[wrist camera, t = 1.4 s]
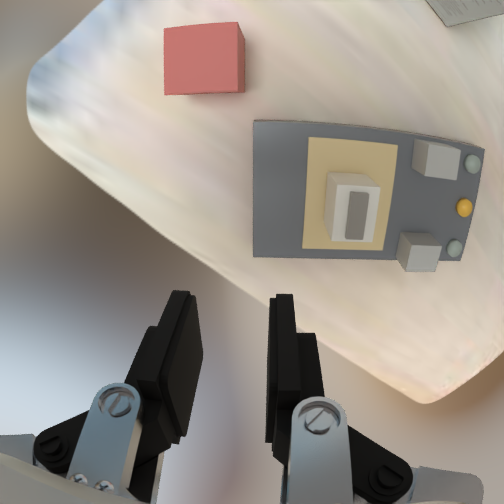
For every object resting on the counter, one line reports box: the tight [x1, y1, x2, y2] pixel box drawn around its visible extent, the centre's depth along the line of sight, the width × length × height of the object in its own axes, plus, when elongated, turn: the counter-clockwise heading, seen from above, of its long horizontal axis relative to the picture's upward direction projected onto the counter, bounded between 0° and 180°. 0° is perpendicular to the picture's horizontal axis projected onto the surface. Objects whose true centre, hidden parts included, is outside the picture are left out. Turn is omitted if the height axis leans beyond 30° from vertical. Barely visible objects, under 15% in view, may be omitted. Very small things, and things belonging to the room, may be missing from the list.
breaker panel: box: [253, 120, 485, 272], centre depth 23 cm, size 20×11×4 cm, turn 90°
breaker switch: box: [324, 172, 381, 242], centre depth 22 cm, size 3×4×4 cm
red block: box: [164, 22, 245, 95], centre depth 19 cm, size 4×4×6 cm
